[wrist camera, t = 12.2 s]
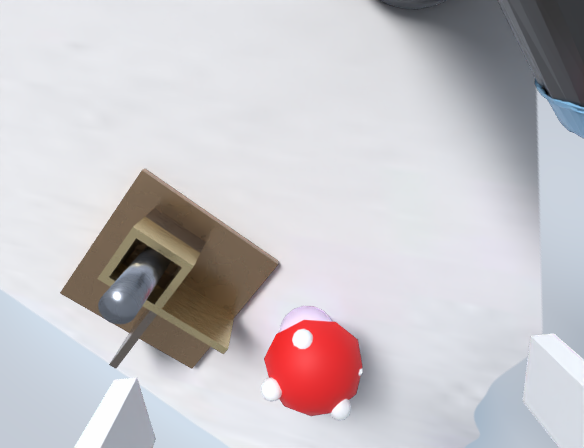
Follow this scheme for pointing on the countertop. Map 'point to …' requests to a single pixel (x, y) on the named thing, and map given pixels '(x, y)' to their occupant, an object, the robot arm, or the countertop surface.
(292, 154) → the countertop surface
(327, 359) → the mushroom
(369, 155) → the countertop surface
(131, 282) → the pin
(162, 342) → the square socket plate
